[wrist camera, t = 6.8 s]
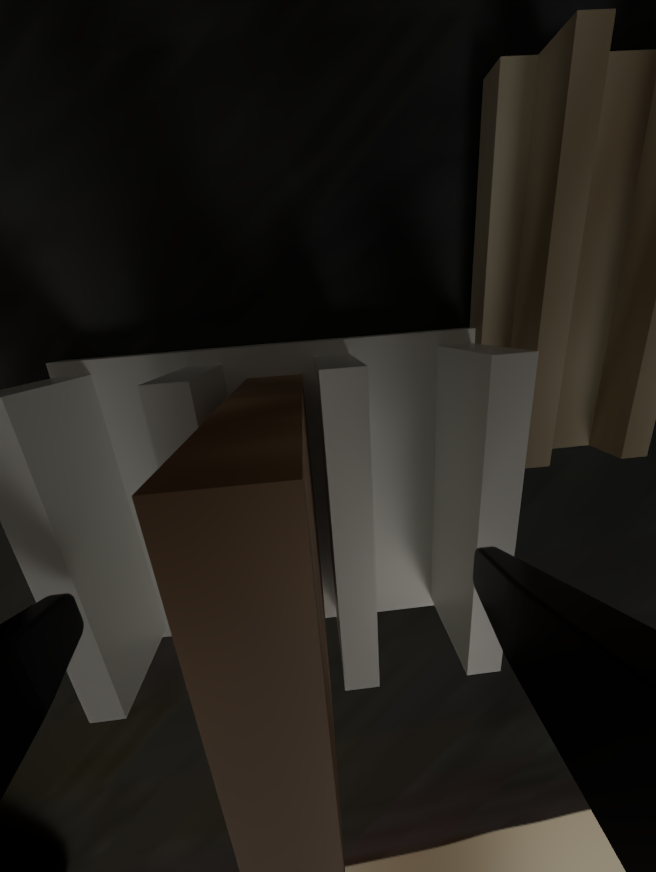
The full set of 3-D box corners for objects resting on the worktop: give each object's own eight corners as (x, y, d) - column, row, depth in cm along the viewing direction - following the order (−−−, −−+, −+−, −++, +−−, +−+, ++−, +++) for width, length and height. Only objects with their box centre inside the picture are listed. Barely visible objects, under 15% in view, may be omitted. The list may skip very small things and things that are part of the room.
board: (302, 373, 10) (302, 480, 3) (323, 594, 12) (347, 903, 6) (246, 378, 10) (132, 495, 3) (279, 598, 12) (253, 917, 6)
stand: (692, 69, 9) (797, 1, 7) (617, 432, 12) (675, 453, 10) (483, 79, 9) (533, 12, 7) (462, 447, 12) (493, 471, 10)
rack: (463, 327, 11) (545, 330, 7) (450, 586, 14) (502, 680, 10) (64, 360, 10) (-68, 381, 6) (147, 621, 13) (90, 732, 10)
